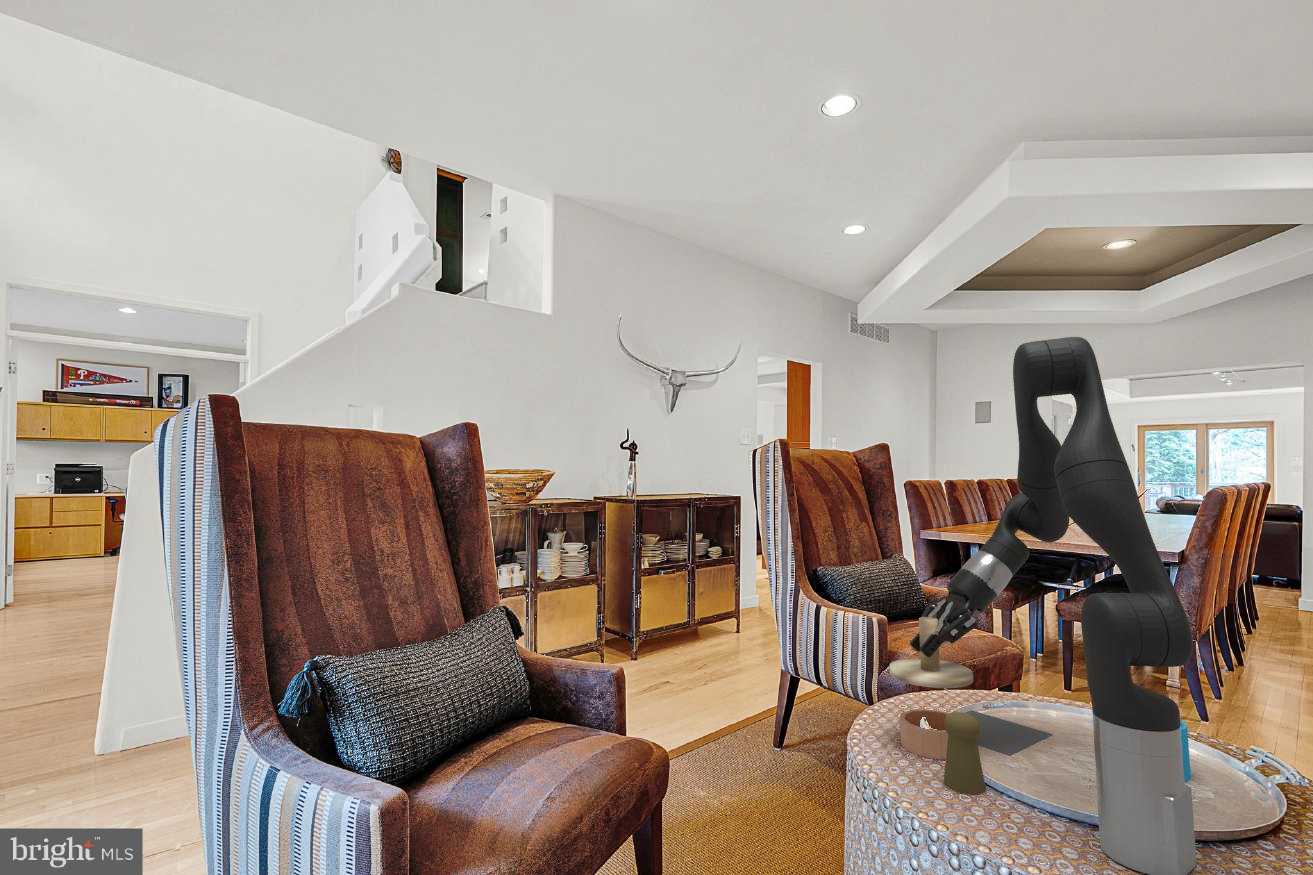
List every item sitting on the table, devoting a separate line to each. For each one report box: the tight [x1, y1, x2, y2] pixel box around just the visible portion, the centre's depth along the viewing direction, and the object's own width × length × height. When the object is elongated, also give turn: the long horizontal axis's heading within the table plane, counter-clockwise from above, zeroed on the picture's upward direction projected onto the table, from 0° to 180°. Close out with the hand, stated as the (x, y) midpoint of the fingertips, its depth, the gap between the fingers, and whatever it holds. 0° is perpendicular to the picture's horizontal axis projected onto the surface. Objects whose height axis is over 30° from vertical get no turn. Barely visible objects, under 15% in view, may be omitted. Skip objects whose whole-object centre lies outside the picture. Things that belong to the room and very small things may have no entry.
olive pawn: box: [943, 711, 987, 795], centre depth 102 cm, size 6×6×11 cm
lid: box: [889, 617, 974, 689], centre depth 117 cm, size 14×14×10 cm
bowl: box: [899, 708, 950, 761], centre depth 116 cm, size 11×11×5 cm
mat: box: [964, 709, 1054, 757], centre depth 123 cm, size 16×16×1 cm
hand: (919, 650), depth 117 cm, fingers closed on lid, 3 cm apart
